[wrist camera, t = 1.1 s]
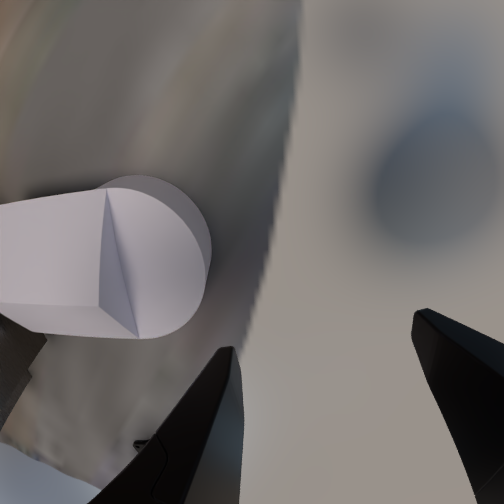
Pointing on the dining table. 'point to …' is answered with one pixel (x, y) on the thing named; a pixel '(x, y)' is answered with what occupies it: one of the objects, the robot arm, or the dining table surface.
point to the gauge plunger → (15, 354)
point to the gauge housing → (14, 398)
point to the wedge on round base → (104, 260)
